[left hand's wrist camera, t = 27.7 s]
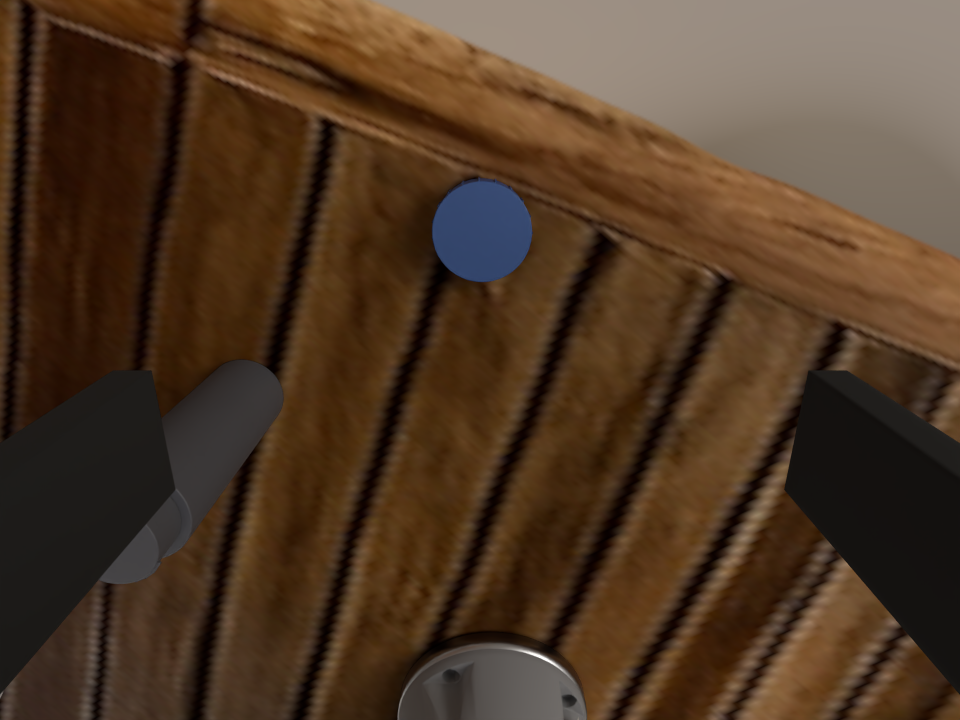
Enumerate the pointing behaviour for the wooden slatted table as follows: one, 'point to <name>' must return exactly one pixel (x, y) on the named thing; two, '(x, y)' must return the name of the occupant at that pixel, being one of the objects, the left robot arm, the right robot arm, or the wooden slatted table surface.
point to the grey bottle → (202, 458)
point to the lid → (481, 230)
